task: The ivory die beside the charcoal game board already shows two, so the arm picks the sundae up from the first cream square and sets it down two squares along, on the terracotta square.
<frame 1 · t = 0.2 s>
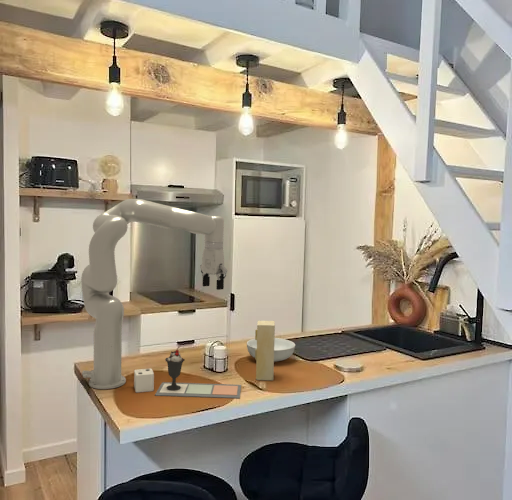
hand: (212, 287, 198), 31 cm above the countertop, tool pointing down, fingers open, 9 cm apart
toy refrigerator: (263, 377, 184), on the countertop
sundae: (173, 388, 168), resting on game board
serving bowl: (270, 359, 207), on the countertop
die: (143, 388, 168), on the countertop
game board: (199, 390, 168), on the countertop
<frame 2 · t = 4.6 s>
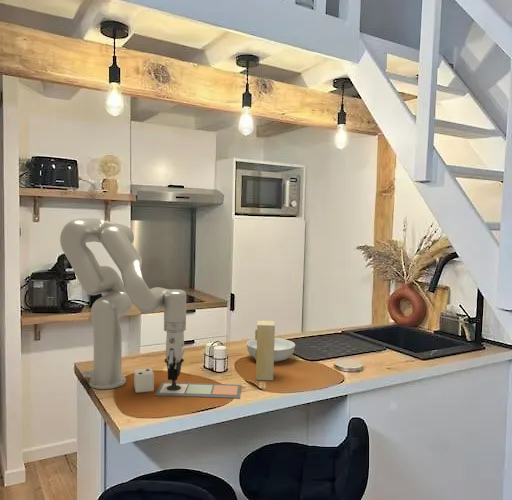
hand: (174, 376, 168), 5 cm above the countertop, tool pointing down, fingers closed on sundae, 4 cm apart
sundae: (173, 388, 168), resting on game board, touching gripper
everything else where it was.
when the fingers open (6 cm above the countertop, at t = 11.7 s): sundae drops 1 cm, resting on game board.
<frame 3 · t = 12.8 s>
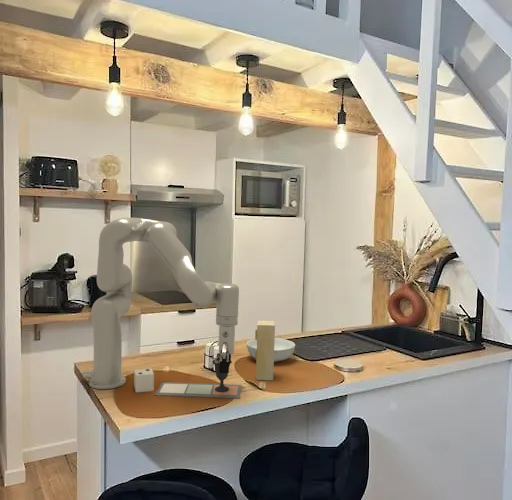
hand: (225, 368, 167), 8 cm above the countertop, tool pointing down, fingers open, 9 cm apart
sundae: (222, 389, 168), resting on game board
everything else where it was.
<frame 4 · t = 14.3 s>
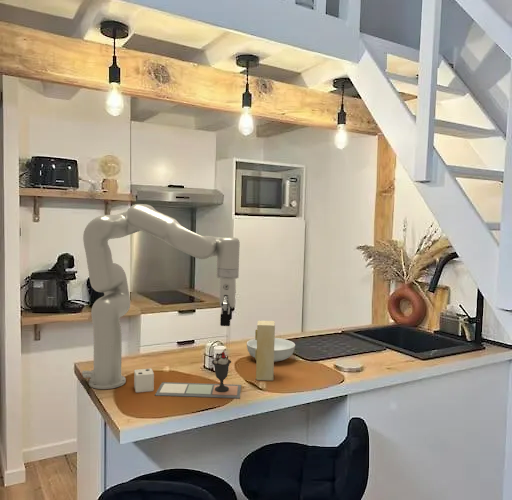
hand: (226, 322, 166), 24 cm above the countertop, tool pointing down, fingers open, 9 cm apart
nothing on the countertop moved.
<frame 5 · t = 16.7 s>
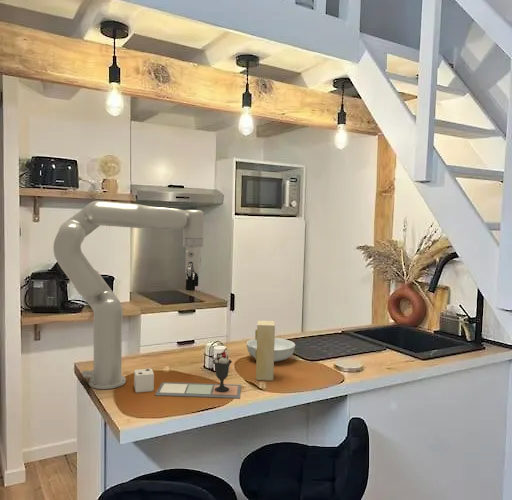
hand: (192, 288, 181), 33 cm above the countertop, tool pointing down, fingers open, 9 cm apart
at the end: sundae inside the target area (1.2 cm from its centre), resting on game board; sundae tilted 1°; the gripper is holding nothing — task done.
